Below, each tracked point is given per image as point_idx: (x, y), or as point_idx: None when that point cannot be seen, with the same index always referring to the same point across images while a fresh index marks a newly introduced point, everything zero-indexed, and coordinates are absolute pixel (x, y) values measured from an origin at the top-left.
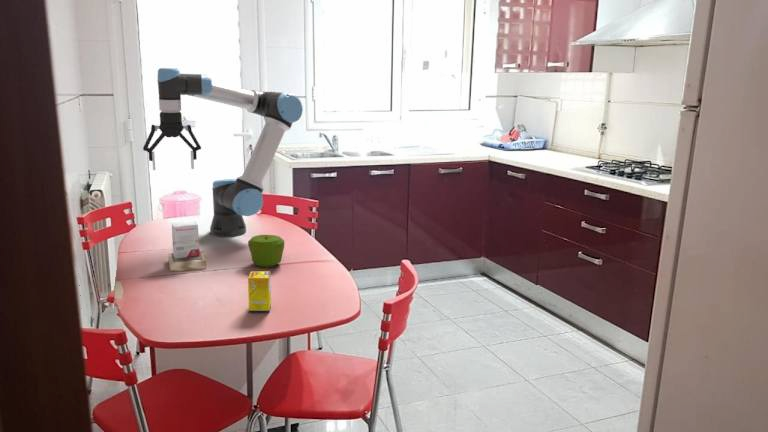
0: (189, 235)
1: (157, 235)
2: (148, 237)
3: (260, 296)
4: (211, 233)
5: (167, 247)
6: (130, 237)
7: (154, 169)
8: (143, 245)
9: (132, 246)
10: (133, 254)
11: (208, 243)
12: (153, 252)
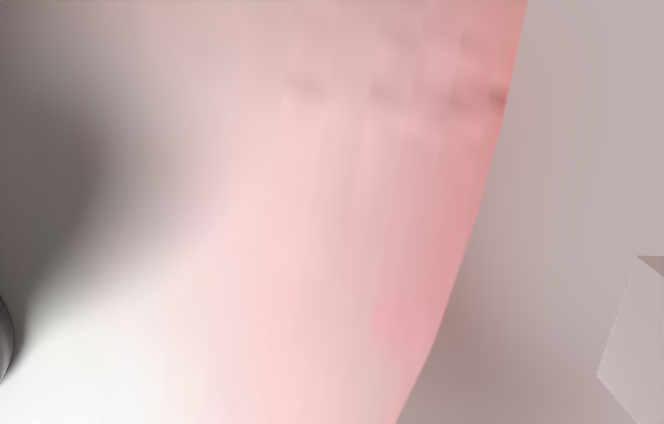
0: None
1: (303, 356)
2: (350, 333)
3: None
4: (5, 311)
5: (283, 120)
6: (428, 352)
7: (658, 263)
8: (396, 199)
9: (449, 198)
10: (473, 44)
11: (33, 125)
12: (370, 44)
